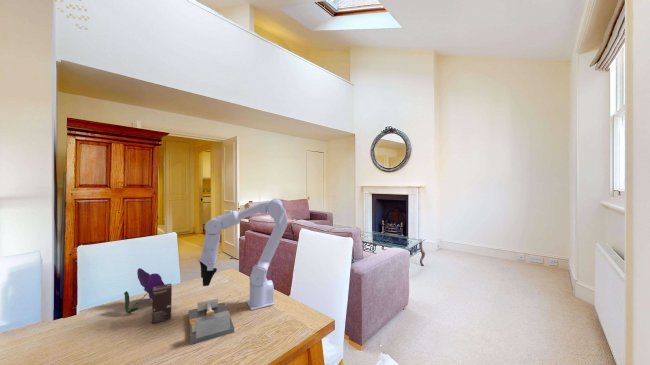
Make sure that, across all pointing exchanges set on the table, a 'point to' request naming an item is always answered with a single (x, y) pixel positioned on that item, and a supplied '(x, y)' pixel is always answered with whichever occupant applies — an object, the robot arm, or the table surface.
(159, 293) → the box
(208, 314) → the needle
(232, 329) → the sloped base with peg
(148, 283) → the flower
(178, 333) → the table surface
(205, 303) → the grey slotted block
